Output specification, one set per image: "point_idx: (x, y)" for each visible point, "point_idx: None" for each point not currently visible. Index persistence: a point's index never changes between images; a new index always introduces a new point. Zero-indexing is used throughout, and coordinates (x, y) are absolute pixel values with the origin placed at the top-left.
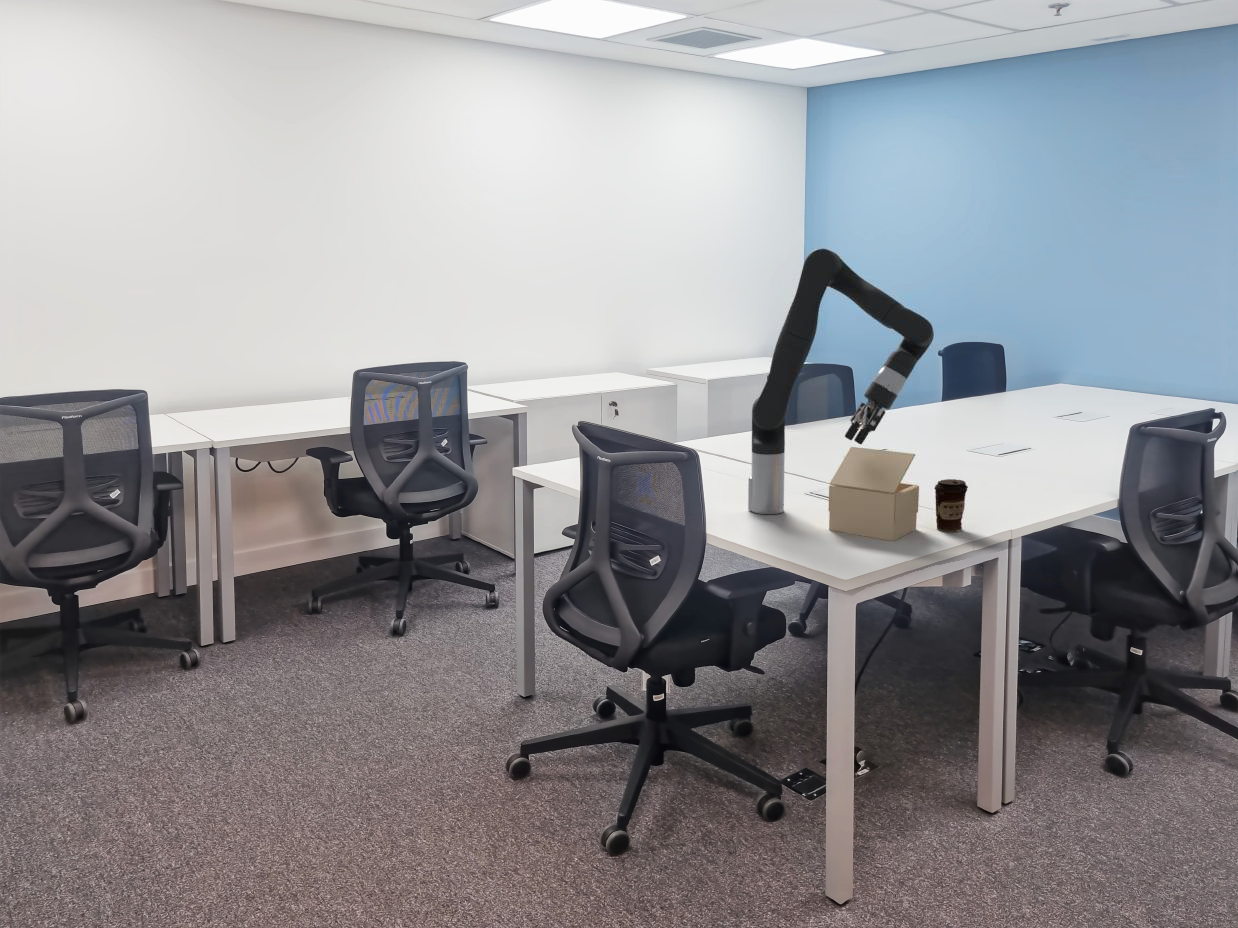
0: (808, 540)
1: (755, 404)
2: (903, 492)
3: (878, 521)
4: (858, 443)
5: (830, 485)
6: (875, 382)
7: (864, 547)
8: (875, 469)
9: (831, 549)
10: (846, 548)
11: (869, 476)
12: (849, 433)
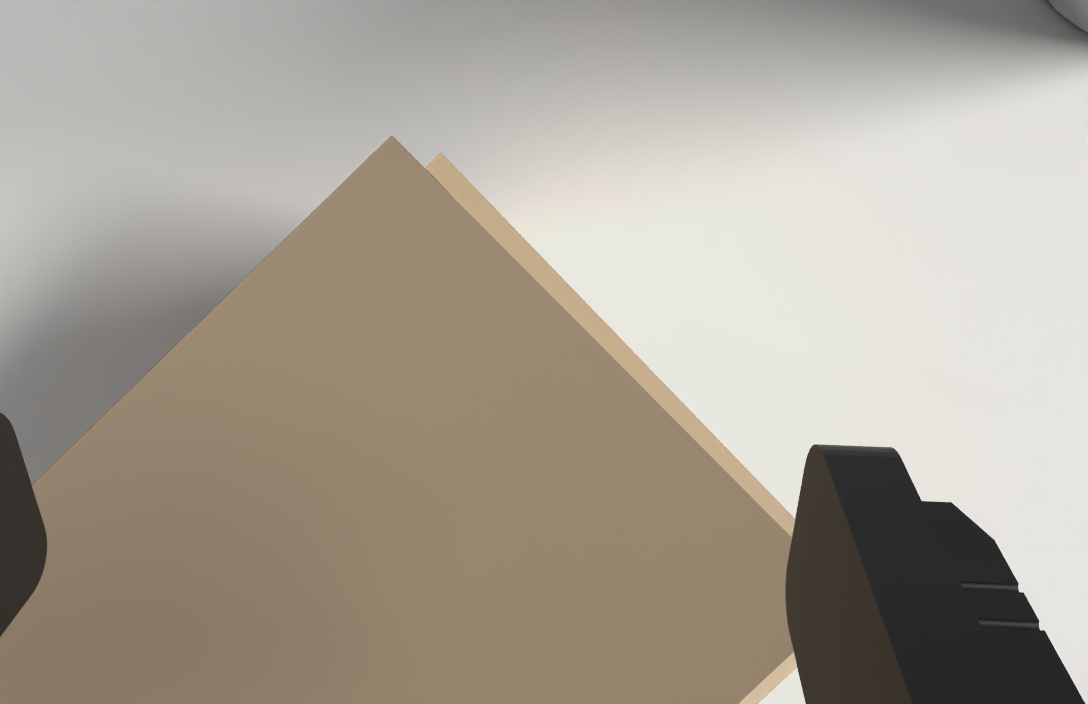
0: (250, 24)
1: None
2: None
3: None
4: (40, 515)
5: (437, 166)
6: None
7: (22, 342)
8: (139, 694)
9: (21, 115)
10: (23, 218)
11: (127, 565)
12: (834, 577)
